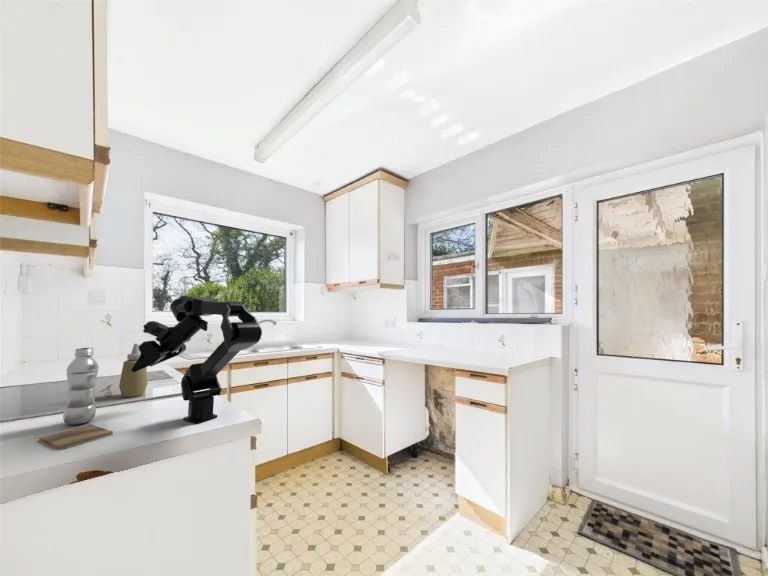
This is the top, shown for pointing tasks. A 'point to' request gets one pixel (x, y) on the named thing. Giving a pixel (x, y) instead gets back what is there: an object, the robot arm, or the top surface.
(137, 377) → the squeeze bottle
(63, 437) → the walnut board
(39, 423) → the top surface
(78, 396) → the plastic bottle
